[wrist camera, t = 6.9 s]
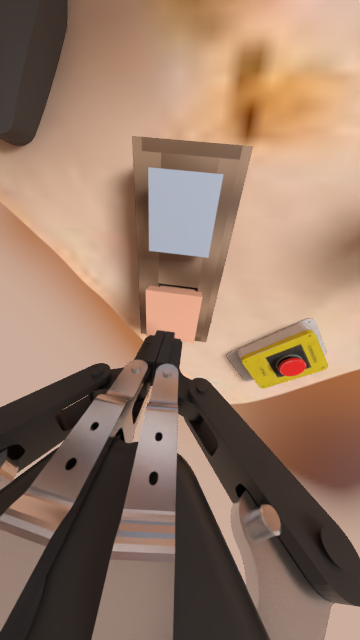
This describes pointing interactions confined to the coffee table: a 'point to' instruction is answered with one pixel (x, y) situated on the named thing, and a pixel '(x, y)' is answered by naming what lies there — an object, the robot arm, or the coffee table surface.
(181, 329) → the terracotta key
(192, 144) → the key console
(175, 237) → the slate-blue key
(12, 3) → the media streaming box
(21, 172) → the coffee table surface
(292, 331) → the emergency button
